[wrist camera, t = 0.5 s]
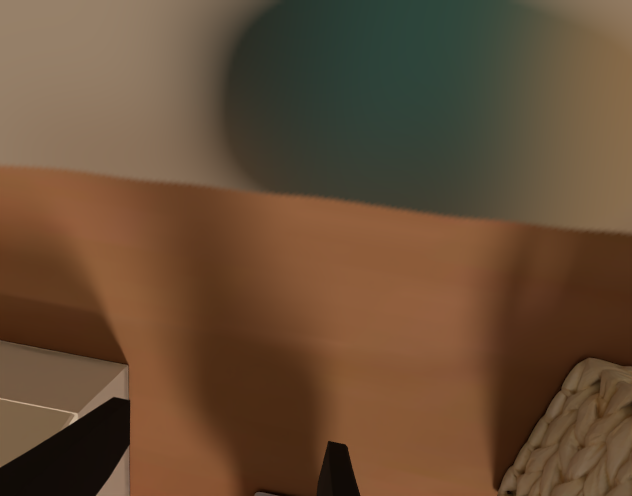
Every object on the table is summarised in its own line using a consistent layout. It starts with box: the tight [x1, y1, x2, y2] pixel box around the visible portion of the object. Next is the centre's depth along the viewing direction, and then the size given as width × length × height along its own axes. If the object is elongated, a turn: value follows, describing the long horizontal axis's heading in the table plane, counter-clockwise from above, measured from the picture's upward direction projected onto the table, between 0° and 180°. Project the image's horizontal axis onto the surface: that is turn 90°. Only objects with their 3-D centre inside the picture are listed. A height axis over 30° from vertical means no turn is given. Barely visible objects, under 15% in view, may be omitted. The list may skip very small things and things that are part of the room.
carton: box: [0, 340, 130, 496], centre depth 23 cm, size 20×14×4 cm
